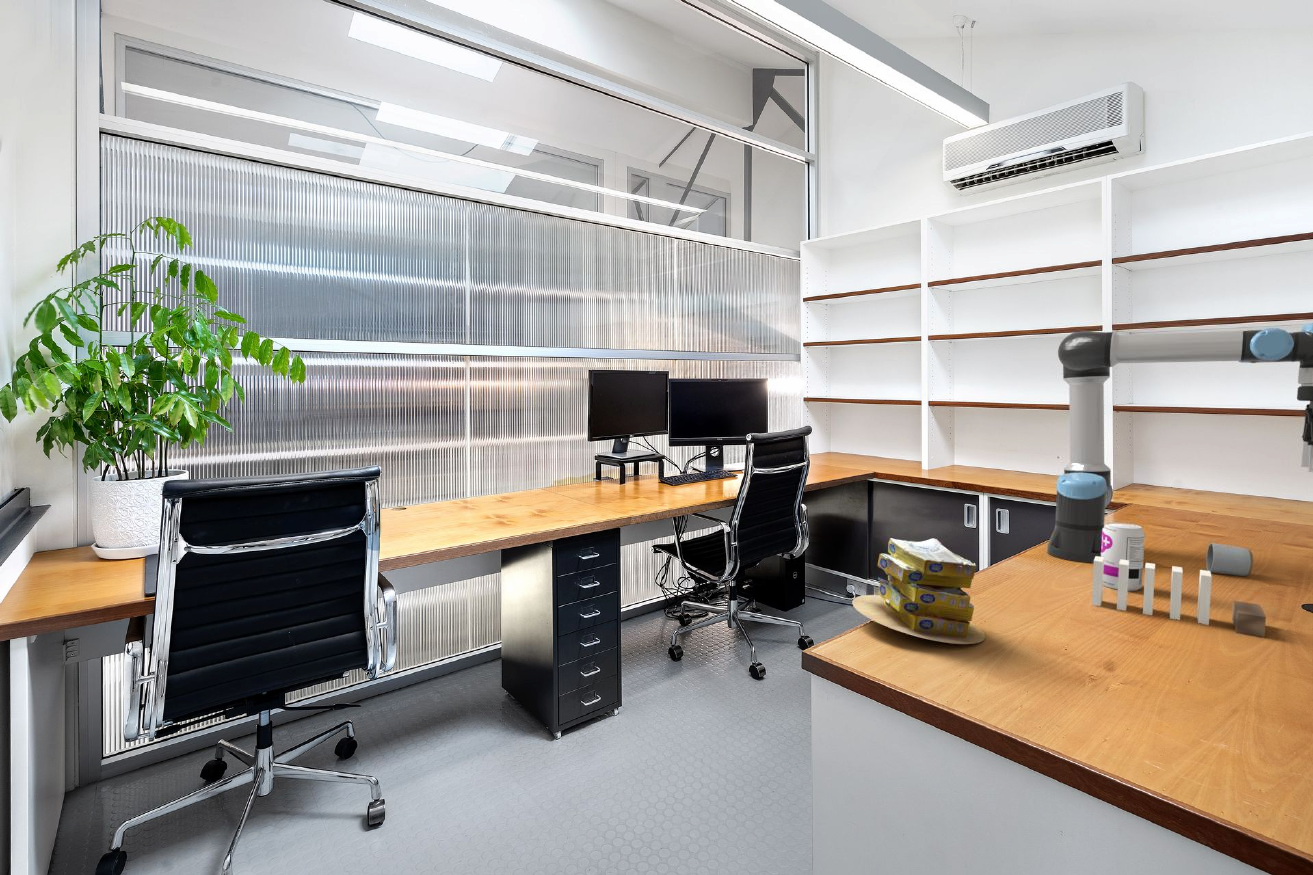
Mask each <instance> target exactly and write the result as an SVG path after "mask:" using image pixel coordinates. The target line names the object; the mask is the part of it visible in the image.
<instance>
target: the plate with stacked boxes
mask: <svg viewBox="0 0 1313 875" xmlns="http://www.w3.org/2000/svg"><path fill="white" fill-rule="evenodd" d="M877 567H878V568H879V569H882V570H883V571H884V573H885V575H887V580H885V579H883V578H881V577H877V579H878V581H879V585H878V586H879V587H878V591H877V594H868V595H867V594H866V595H865V594H864V595H860V596H856V597H854V598H853V599H852V601H851V602H852V603H851V604H852V606H853V607H854V609H855V610H856V611H857V612H858V613H860V614H861V615H863V616H864V617H866V618H868V619H870V620H872V621H873V622H874V623H875V622H876V623H878V624H879V625H882V626H885V627H888V628H889V629H892V630H895V631H896V632H897V631H898V632H901V633H905V634H906V635H911V636H914V637H917V638H921V639H926V640H930V641H935V642H940V643H941V642H942V643H948V644H956V645H957V644H958V645H970V644H971V645H972V644H973V645H974V644H977V643H978V644H979V643H981V642H984V641H985V639H986V633H985V632H983V631H982V630H981V629H980V628H978V627H977V626H976V624H974V623H973V622H972V620H973V614H974V610H975V606H974V605H973V604H972V603H971V596H970V595H969V594H968V593H967V592H966V591H965V590H963V589H971V587H972V586H971V585H972V581H973V580H974V578H975V574H976V570H977V565H976V563H975V562H974V563H973V562H972V561H971V560H968V559H966V558H964V557H962V556H960V555H959V554H955V553H954V552H953V551H951V550H950V549H948V548H946V547H945V546H944V545H943V544H942V542H941V541H939V540H938V539H937V538H930V539H927V540H923V541H915V540H902V539H895V538H892V537H891V538H889V540H888V547H887V553H879V556H878V562H877Z"/></svg>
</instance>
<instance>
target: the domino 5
mask: <svg viewBox="0 0 1313 875" xmlns="http://www.w3.org/2000/svg"><path fill="white" fill-rule="evenodd" d="M1198 582H1199V583H1198V596H1197V597H1198V599H1197V615H1196V616H1197V623H1198V624H1199V623H1202V624H1201V625H1206V626H1209V624H1210V612H1211V611H1210V610H1211V609H1210V608H1211V596H1212V594H1211V593H1212V592H1211V591H1212V573H1211V572H1210V571H1208V570H1205V569H1204V570H1203V569H1199V581H1198Z"/></svg>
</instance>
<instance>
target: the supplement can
mask: <svg viewBox="0 0 1313 875" xmlns="http://www.w3.org/2000/svg"><path fill="white" fill-rule="evenodd" d="M1144 551H1145V532H1144V530H1143V527H1142V526H1140V525H1139V524H1138V525H1136V524H1132V523H1125V522H1124V523H1123V522H1107V523H1105V524H1104V528H1103V529H1102V545H1101V557H1104V572H1103V587H1104V586H1105V587H1106V588H1110V589H1113V590H1116V591H1118V575H1119V562H1120V559H1122V560H1129V574H1128V592H1135V591H1138V590H1139V589H1141V588H1142V587H1143V572H1144V570H1143V569H1144V555H1145V554H1144V553H1145V552H1144Z"/></svg>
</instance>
